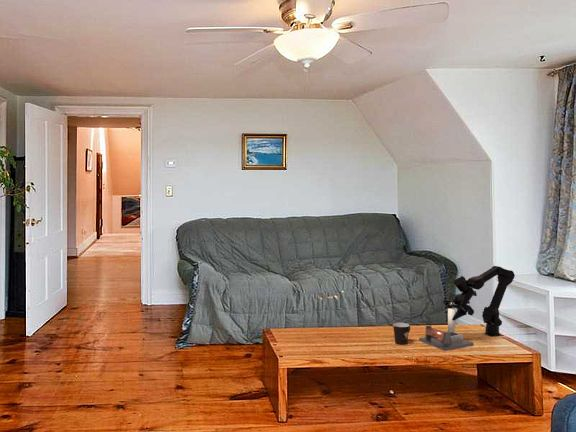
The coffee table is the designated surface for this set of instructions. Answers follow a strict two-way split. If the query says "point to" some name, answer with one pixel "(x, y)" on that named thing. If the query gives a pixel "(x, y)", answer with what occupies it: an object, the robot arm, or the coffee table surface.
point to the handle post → (450, 322)
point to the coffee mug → (401, 333)
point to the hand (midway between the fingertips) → (449, 319)
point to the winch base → (444, 339)
